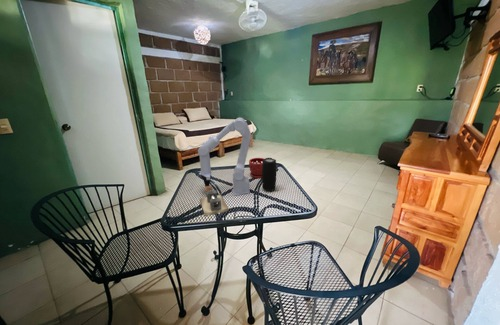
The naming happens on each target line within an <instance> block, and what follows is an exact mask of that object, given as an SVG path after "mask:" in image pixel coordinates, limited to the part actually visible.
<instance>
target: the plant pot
mask: <svg viewBox="0 0 500 325" xmlns="http://www.w3.org/2000/svg"><path fill="white" fill-rule="evenodd" d="M264 159H265V158H264V157H254V158H250V159H249V160H248V165H249V171H250V173H249V174H250V176H251V177H252V178H254V179H262V178H261V177H262V165H263V160H264Z"/></svg>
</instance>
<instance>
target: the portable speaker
mask: <svg viewBox="0 0 500 325" xmlns="http://www.w3.org/2000/svg"><path fill="white" fill-rule="evenodd" d="M262 163H263V165H262V178H261V181H262V182H261V184H262V186H261V187H262V190H264V191H265V192H266V193H272V192H273V191H274V190H275V191H276V185H277V159H275V158H272V157H265V158H264V160H263V162H262Z"/></svg>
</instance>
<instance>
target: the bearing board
mask: <svg viewBox="0 0 500 325" xmlns="http://www.w3.org/2000/svg"><path fill="white" fill-rule="evenodd" d="M210 195H214V197H215V199H211V197H210ZM199 203H200V205H201V207H202V211H203V214H204V216H205V217H208V216H211V215H216V214H220V213H225V212H229V207H228V204H227V203H226V201H225V199H224V198H223V196H222V194H218V192H217V190H216V189H215V190H212V191H209V192H206V197H201V198H199ZM213 203H217V204H213Z"/></svg>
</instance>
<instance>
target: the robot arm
mask: <svg viewBox="0 0 500 325" xmlns="http://www.w3.org/2000/svg"><path fill="white" fill-rule="evenodd" d="M236 131H237V132H239V134H240V135H241V137H242V138H241V144H240V148H239V153H238V158H237V162H236V165H235V167H234V168H233V173H232V182H233V184H232V186H233V187H232V189H231V192H232V193H233V196H240V195H245V194H250V193H251V191H250V190H251V189H250V188H251V187H250V178H249V177H248V176H245V164H246V161H247V160H246V159H247V157H248V152H249V151H248V150H249V146H250V143H251V138H252V133H251V129H250V127H249V125H248V123H247V121H246V120H245V119H244V117H236V119H235V120H232V121H231V122H230V123H228V124H227V125H226V126H224V128H223V129H222V130H221V131H219V133H217V135H212V136H209V137H208V139H207V140H206V141H205V142H202V145H200V146H199V148H198V149H197V153H198V155H199V163H200V165H199V167H200V172H198V175H200V177H201V179H202V180H203V183H204V186H205V187H206V186H207V185H210V184H211V180H212V177H213V176H212V169H211V167H212V166H211V157H210V152H211V151H213V150H214V149H215V148H216V147H217V146H219V145H220V143H221V142H220V141H221V140H222V139H223V138H225V137H226V136H227V135H228V134H229V133H231V132H236ZM210 186H211V185H210ZM205 187H204V188H205Z"/></svg>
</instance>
